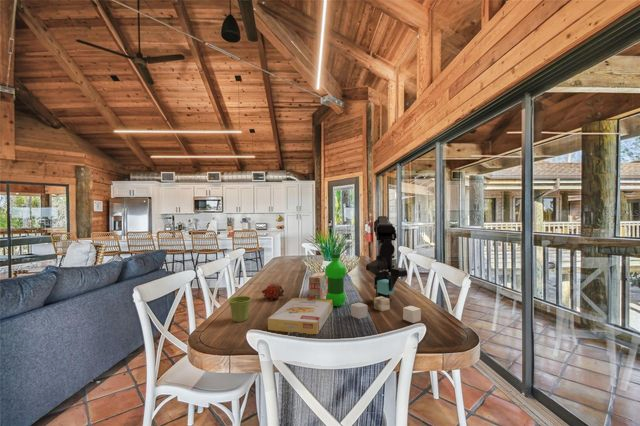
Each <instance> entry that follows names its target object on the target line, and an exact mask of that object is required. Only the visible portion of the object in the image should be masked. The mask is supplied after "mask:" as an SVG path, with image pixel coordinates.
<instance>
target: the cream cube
mask: <svg viewBox="0 0 640 426" xmlns="http://www.w3.org/2000/svg"><path fill="white" fill-rule="evenodd" d="M402 310H403V311H402V313H403V314H402V318H403V319H402V320H404V321H405V322H409V323H412V324H414V323H415V324H416V323H418V322H420V321H421V320H422V316H421V315H422V311H421V310H422V309H421V308H419V307H417V306H413V305H408V306H405V307H403V309H402Z"/></svg>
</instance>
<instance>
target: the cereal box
mask: <svg viewBox="0 0 640 426" xmlns="http://www.w3.org/2000/svg"><path fill="white" fill-rule="evenodd" d="M333 309H334V306H333V300H332V299H326V298H323V299H310V298H309V297H307V298H306V297H292V298H291V299H289V301H287V302H286V303H285V304H284V305H283V306H280V308H279V309H277V311H275V312H274V313H273V314H272V315H270V316H269V317H268V318H267V330H269V331H275V332H276V331H277V332H284V333H285V332H286V333H293V332H299V333H298V334H303V333H306V335H313V334H317V335H318V334H319V332H320V330H321V329H322V327H323V326H324V324H325V323H326V321H327V320H328V318H329V316H330V315H331V313H332V312H333Z"/></svg>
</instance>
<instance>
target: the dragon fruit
mask: <svg viewBox="0 0 640 426" xmlns="http://www.w3.org/2000/svg"><path fill="white" fill-rule="evenodd" d="M284 292H285V290H284V288H283V287H282V286H281V285H279V284H278V283H275V284H273V283H270V284H269V285H267V287H266V288H263V289H262V290H261V294H263V297H264V298H265V299H269V300H271V301H273V300H279V298H281V297H283V296H284Z"/></svg>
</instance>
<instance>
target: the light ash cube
mask: <svg viewBox="0 0 640 426" xmlns="http://www.w3.org/2000/svg"><path fill="white" fill-rule="evenodd" d="M390 299H391V298H390ZM390 299H388V298H385V297H382V296H381V297H376V296H375V297H374V298H373V308H374V309H375V310H377V311H379V312H385V311H388V310H390V307H391V306H390V303H391V301H390Z"/></svg>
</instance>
